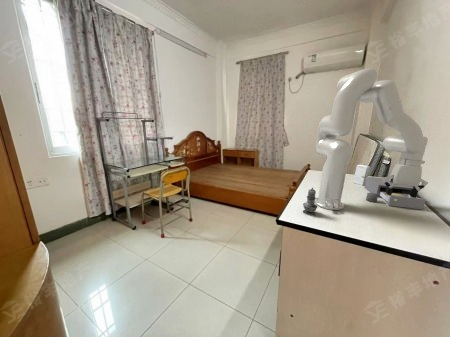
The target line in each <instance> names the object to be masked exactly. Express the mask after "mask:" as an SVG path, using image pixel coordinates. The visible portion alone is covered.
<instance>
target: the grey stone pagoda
mask: <svg viewBox="0 0 450 337" xmlns="http://www.w3.org/2000/svg"><path fill="white" fill-rule="evenodd" d="M307 191H308V193H307V196H306V198H307V199H306V202H304V203H303V204H302V206H303V210H302V213H303V214H304V215H307V216H312V217H313V216H316V212H315V211H316V210H317V209H318V205H316V204H315V199H316V198H317V197H316V190H315V189H314V187H311V189H308V190H307Z"/></svg>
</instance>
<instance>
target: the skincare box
mask: <svg viewBox="0 0 450 337" xmlns="http://www.w3.org/2000/svg"><path fill="white" fill-rule="evenodd" d="M370 169H371V166H369V165H365V164H364V165H363V164H357V165H356V168H355V171H354V172H355V173H354V176H353V181H352V183H353V184H357V185H359V186H365V182H366V177H369V173H370Z"/></svg>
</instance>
